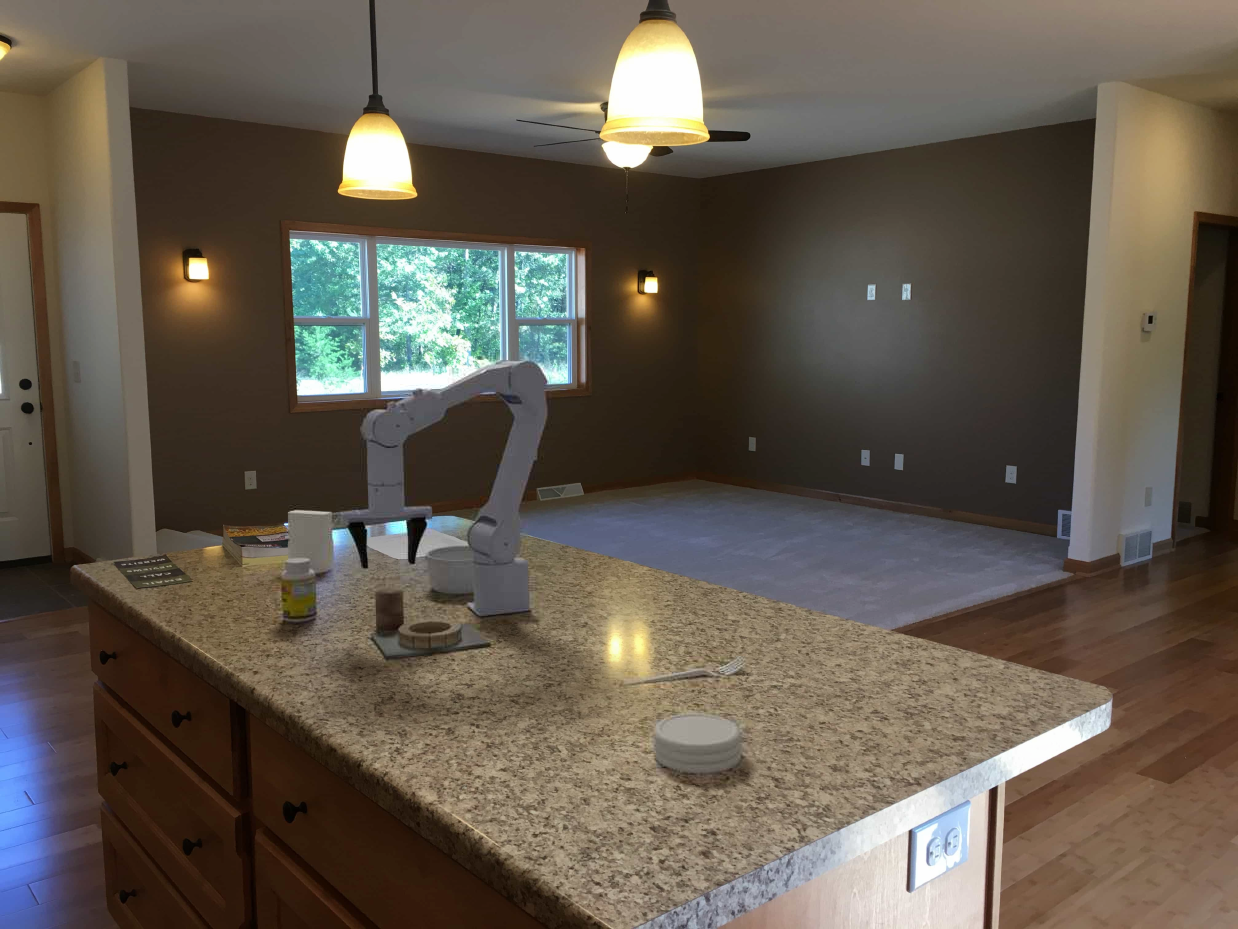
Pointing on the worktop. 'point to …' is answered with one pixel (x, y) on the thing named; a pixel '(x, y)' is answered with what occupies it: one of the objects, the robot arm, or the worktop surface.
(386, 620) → the walnut peg
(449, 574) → the ramekin
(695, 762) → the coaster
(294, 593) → the supplement bottle
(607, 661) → the worktop surface
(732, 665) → the fork
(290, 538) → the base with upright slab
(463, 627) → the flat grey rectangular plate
